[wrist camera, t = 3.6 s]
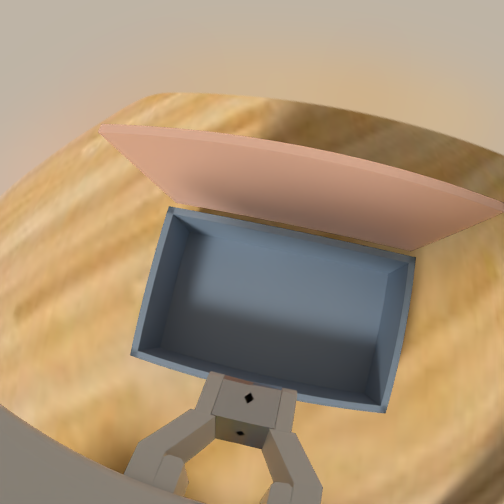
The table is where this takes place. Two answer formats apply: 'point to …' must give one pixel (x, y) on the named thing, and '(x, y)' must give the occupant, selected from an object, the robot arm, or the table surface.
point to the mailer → (276, 309)
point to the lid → (300, 185)
